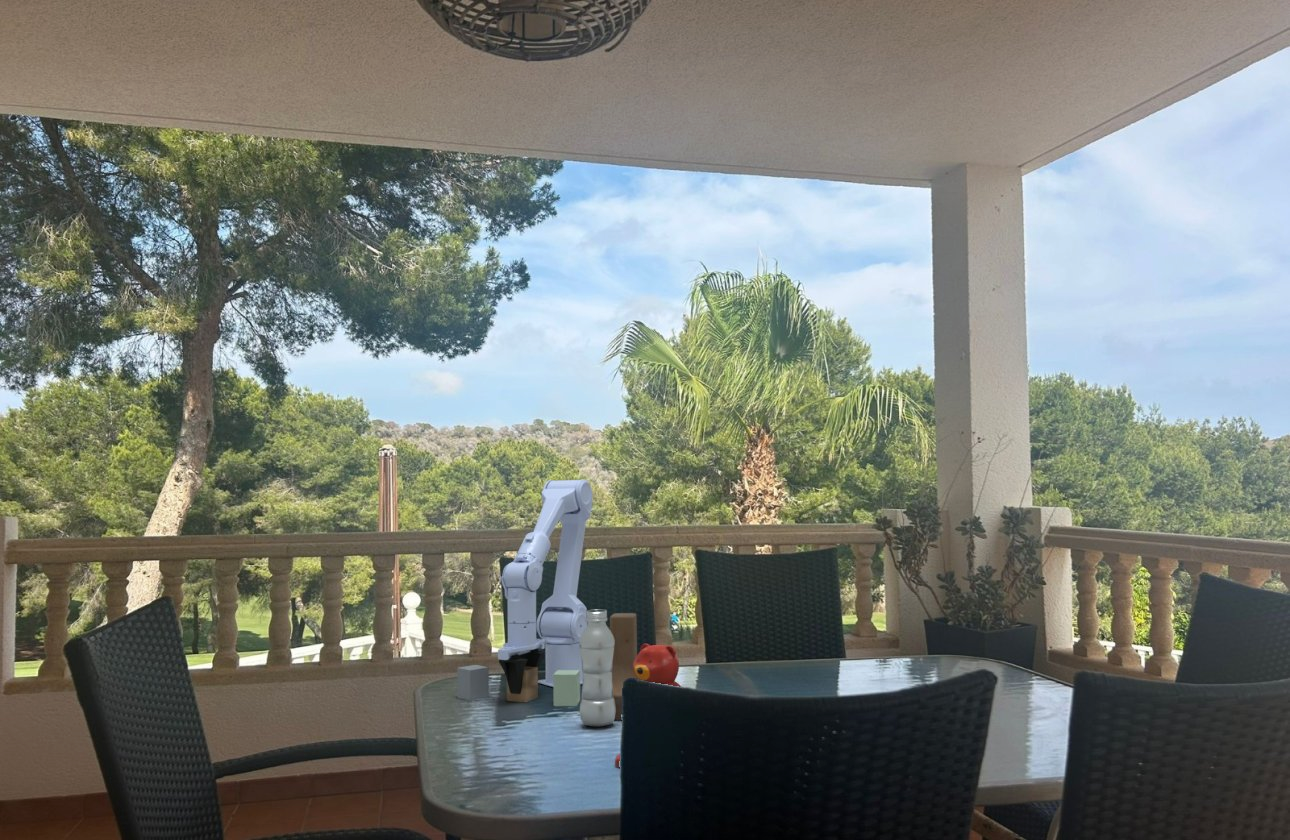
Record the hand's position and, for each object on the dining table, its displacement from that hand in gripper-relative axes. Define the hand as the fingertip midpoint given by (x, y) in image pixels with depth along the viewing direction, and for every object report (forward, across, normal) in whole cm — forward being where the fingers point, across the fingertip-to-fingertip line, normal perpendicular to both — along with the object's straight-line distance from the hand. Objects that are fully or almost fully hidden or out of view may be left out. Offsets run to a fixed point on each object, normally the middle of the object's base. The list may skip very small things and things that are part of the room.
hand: (522, 690), depth 187 cm
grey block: (+2, +2, -10) cm, 11 cm away
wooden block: (+2, +5, +25) cm, 25 cm away
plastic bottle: (+2, +14, +24) cm, 28 cm away
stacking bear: (+2, +32, +44) cm, 54 cm away
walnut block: (+2, 0, 0) cm, 2 cm away
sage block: (+2, 0, +10) cm, 10 cm away
